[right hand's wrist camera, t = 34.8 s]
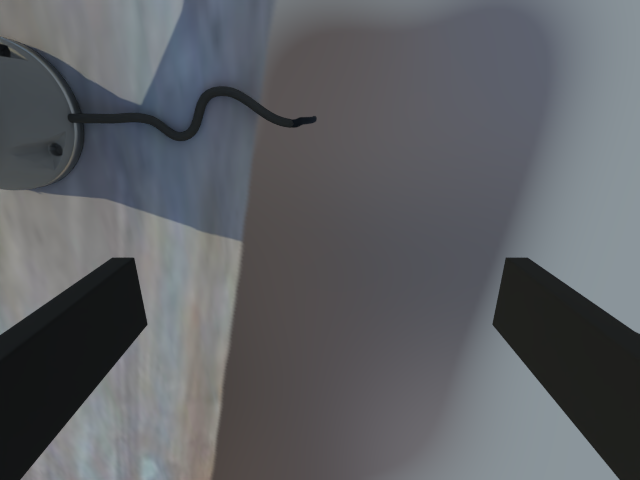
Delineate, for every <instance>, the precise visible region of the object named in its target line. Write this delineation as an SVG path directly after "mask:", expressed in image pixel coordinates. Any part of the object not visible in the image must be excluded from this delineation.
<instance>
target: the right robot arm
mask: <svg viewBox="0 0 640 480" xmlns="http://www.w3.org/2000/svg"><path fill="white" fill-rule="evenodd" d="M216 96H228V97H232V98H234V99H237V100H238V101H240V102H242V103H243V104H245V105H246V106H248V107H249V108H251V109H252V110H253V111H255V112H256V113H257V114H259V115H260V116H262V117H263V118H265V119H266V120H268V121H270V122H272V123H274V124H277V125H280V126H283V127H289V128H296V127H299V126H301V125H304V124H311V123H314V122H316V120H317V117H316V116H313V117H299V118H297V119H287V118H283V117H280V116H278V115H276V114H274V113H272V112H270V111H269V110H267V109H266V108H264V107H263V106H261V105H260V104H259V103H257V102H256V101H255V100H253V99H252V98H250V97H249V96H247V95H246V94H244V93H243V92H241V91H239V90H236V89H234V88H230V87H222V86H219V87H213V88H211V89H208V90H206V91H205V92H204V93H203V94H202V95H201V97H200V98H199V100H198V102H197V105H196V109H195V112H194V116H193V120H192V123H191V125H190V127H189V128H188V130H186V131H184V132H176V131H174V130H172V129H171V128H169V127H168V126H167V125H166V124H164V123H163V122H162V121H160V120H159V119H157V118H155V117H153V116H150V115H146V114H140V113H122V114H81V112H80V109H79V106H78V103H77V101H76V99H75V96H74V94H73V93H72V91H71V89H70V87H69V86H68V84H67V83H66V81H65V80H64V78H63V77H62V76H61V74H60V73H59V72H58V71H57V70H56V69H55V68H54V67H53V66H52V65H51V64H50V63H49V62H48V61H47V60H46V59H45V58H43V57H42V56H41V55H39V54H38V53H37V52H35V51H34V50H32V49H30V48H29V47H27V46H25V45H23V44H21V43H19V42H16V41H13V40H11V39H7V38H3V37H0V189H5V190H29V189H35V188H39V187H43V186H46V185H50V184H53V183H55V182H57V181H59V180H61V179H62V178H63V177H65V176H66V175H67V174H68V173H69V172H70V171H71V170H72V169H73V167H74V166H75V164H76V163H77V161H78V159H79V157H80V154H81V151H82V146H83V139H84V129H83V123H125V122H141V123H147V124H150V125H152V126H154V127H156V128H157V129H159V130H160V131H161V132H162V133H164V134H165V135H166V136H168V137H169V138H171V139H173V140H177V141H185V140H188V139H190V138H192V137H193V136H194V135H195V134H196V133H197V131H198V129H199V127H200V125H201V121H202V118H203V114H204V110H205V107H206V105H207V103H208V102H209V100H210V99H211V98H213V97H216ZM147 325H148V324H147V319H146V315H145V310H144V305H143V300H142V295H141V290H140V285H139V280H138V275H137V270H136V265H135V260H134V258H111V259H110V260H108V261H107V262H105V263H104V264H103V265H101V266H100V267H98V268H97V269H95V270H94V271H92V272H91V273H90V274H88V275H87V276H85V277H84V278H82V279H81V280H79V281H78V282H77V283H75V284H74V285H72V286H71V287H69V288H68V289H66V290H65V291H64V292H62V293H61V294H59V295H58V296H56V297H55V298H53V299H52V300H51V301H49V302H48V303H46V304H45V305H43V306H42V307H40V308H39V309H37V310H36V311H35V312H33V313H32V314H30V315H29V316H27V317H26V318H24V319H23V320H22V321H20V322H19V323H17V324H16V325H14V326H13V327H11V328H10V329H9V330H7V331H6V332H4V333H3V334H1V335H0V480H20V479H21V478H22V477H23V476H24V474H25V473H26V472H27V471H28V470H29V468H30V467H31V466H32V465H33V464H34V462H35V461H36V460H37V459H38V457H39V456H40V455H41V454H42V453H43V451H44V450H45V449H46V448H47V446H48V445H49V444H50V443H51V442H52V440H53V439H54V438H55V437H56V435H57V434H58V433H59V432H60V431H61V429H62V428H63V427H64V426H65V424H66V423H67V422H68V421H69V420H70V418H71V417H72V416H73V415H74V414H75V412H76V411H77V410H78V409H79V407H80V406H81V405H82V404H83V403H84V401H85V400H86V399H87V398H88V396H89V395H90V394H91V393H92V392H93V390H94V389H95V388H96V387H97V385H98V384H99V383H100V382H101V381H102V379H103V378H104V377H105V376H106V375H107V373H108V372H109V371H110V370H111V368H112V367H113V366H114V365H115V364H116V362H117V361H118V360H119V359H120V357H121V356H122V355H123V354H124V353H125V351H126V350H127V349H128V348H129V346H130V345H131V344H132V343H133V342H134V340H135V339H136V338H137V337H138V335H139V334H140V333H141V332H142V331H143V329H144V328H145V327H146V326H147ZM493 326H494V327H495V328H496V329H497V331H498V332H499V333H500V334H501V335H502V337H503V338H504V339H505V340H506V342H507V343H508V344H509V345H510V346H511V348H512V349H513V350H514V351H515V353H516V354H517V355H518V356H519V357H520V359H521V360H522V361H523V362H524V364H525V365H526V366H527V367H528V368H529V370H530V371H531V372H532V373H533V375H534V376H535V377H536V378H537V379H538V381H539V382H540V383H541V384H542V385H543V387H544V388H545V389H546V390H547V392H548V393H549V394H550V395H551V396H552V398H553V399H554V400H555V401H556V403H557V404H558V405H559V406H560V407H561V409H562V410H563V411H564V412H565V414H566V415H567V416H568V417H569V418H570V420H571V421H572V422H573V423H574V424H575V426H576V427H577V428H578V429H579V431H580V432H581V433H582V434H583V435H584V437H585V438H586V439H587V440H588V442H589V443H590V444H591V445H592V446H593V448H594V449H595V450H596V451H597V453H598V454H599V455H600V456H601V457H602V459H603V460H604V461H605V462H606V464H607V465H608V466H609V467H610V468H611V470H612V471H613V472H614V473H615V474H616V476H617V477H618V478H619V479H620V480H640V334H638V333H636V332H634V331H633V330H631V329H630V328H629V327H627V326H626V325H624V324H623V323H621V322H620V321H618V320H617V319H615V318H614V317H613V316H611V315H610V314H608V313H607V312H605V311H604V310H603V309H601V308H600V307H598V306H597V305H595V304H594V303H592V302H591V301H589V300H588V299H587V298H585V297H584V296H582V295H581V294H579V293H578V292H576V291H575V290H574V289H572V288H571V287H569V286H568V285H566V284H565V283H563V282H562V281H560V280H559V279H558V278H556V277H555V276H553V275H552V274H550V273H549V272H547V271H546V270H545V269H543V268H542V267H540V266H539V265H537V264H536V263H534V262H533V261H532V260H530V259H529V258H506V260H505V265H504V270H503V275H502V280H501V285H500V290H499V295H498V300H497V305H496V310H495V315H494V320H493Z"/></svg>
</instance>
